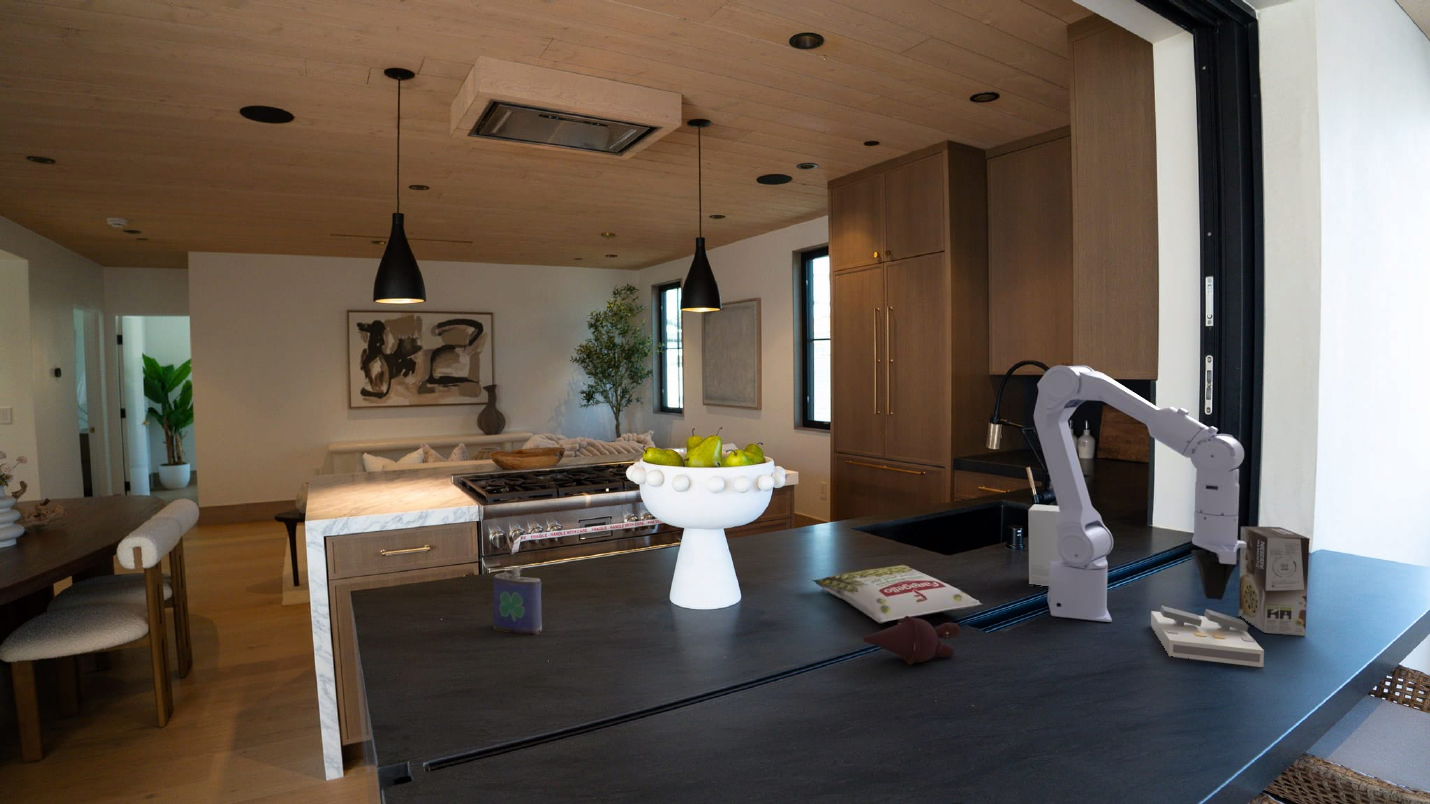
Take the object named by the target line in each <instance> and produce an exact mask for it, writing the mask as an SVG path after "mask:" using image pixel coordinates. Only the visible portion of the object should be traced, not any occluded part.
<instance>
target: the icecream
mask: <svg viewBox="0 0 1430 804" xmlns="http://www.w3.org/2000/svg"><path fill="white" fill-rule="evenodd" d="M961 632H962V629H961V627H960V626H959V624H958V623H955V622H944V623H942V624H941V625H938V626H935V627H934V626H933V625H932V624H931V623H930V622H928V621H926V620H925V619H924V618H923V619H922V618H917V617H909V616H905V617H904V618H903V619H898V621H897V624H896V625H893V626H891V627H887V628H886V629H883V630H880V631H876V632H874V633H870V634H869V635H865V636H864V637H863V639H862V640H863V642H864V643H866V644H870V645H873V646H874V647H878V648H880V649H883V650H885V651H887V652H890V653H893V654H895V655H897V656H900V657H901V660H903V661H904V662H906V663H907V664H908V665H909V666H912V665H914V663H923V662H928V660H931V659H933V657H934V656H936V657H939V658H941V659H942V658H943V659H945V658H947V659H948V658H951V657H954V655H955V654H956V651H955V649H954V647H953V646H952V645H951V644H947V643H945V642H944V643H943V642H942V641H940V640H939V639H944V640H948V639H953V638H955V637H957V636H959V635H960V633H961Z"/></svg>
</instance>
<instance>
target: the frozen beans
mask: <svg viewBox="0 0 1430 804" xmlns="http://www.w3.org/2000/svg"><path fill="white" fill-rule="evenodd" d="M811 581H812V582H814V583H815V584H816V585H818V586H819V587H821V588H822V589H824V590H825V591H827V592H828V593H830V594H831V595H834V596H835V597H837V598H839V599H842V600H844V601H846V602H847V603H849V604H850V606H852V607H853V608H856V609H857V610H859V611H860V612H862V613H863V614H864V615H866V616H868V617H870V618H871V619H873V620H874V621H875V622H877V623H879V624H881V625H882V624H884V623H887V622H892V621H895V620H900V619H903V618H904V617H905V616H909V617H910V618H912V617H913V618H916V617H922V616H926V615H932V614H937V613H942V612H947V611H953V610H964V609H965V610H966V609H971V608H975V607H977V606H979V605H982V603H981V602H980V600H978V599H976V598H973V597H972V596H970V595H969V593H966V592H965V591H962V590H961V589H959V588H957V587H954V586H952V585H950V584H949V583H945V582H943V581H941V580H939V579H937V578H934V577H932V576H931V575H928V574H926V573H923V572H921V571H919V570H917V569H914V568H912V567H910V566H907V565H905V564H900V565H893V566H886V567H879V568H873V569H872V568H871V569H865V570H860V571H854V572H848V573H841V574H833V575H831V576H826V577H824V578H819V579H813V580H811Z"/></svg>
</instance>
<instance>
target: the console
mask: <svg viewBox="0 0 1430 804" xmlns="http://www.w3.org/2000/svg"><path fill="white" fill-rule="evenodd" d="M1150 612H1151V613H1150V618H1151V619H1150V627H1151V628H1152V630H1153V632H1154V631H1155V632H1154V634H1155V635H1156V636H1157V638H1158V640H1159V642H1160V641H1161V642H1160V643H1161V645H1162V646H1164V647H1163V649H1164V648H1165V649H1164V650H1165V652H1166V651H1167V652H1166V654H1167V653H1168V654H1167V655H1168V657H1171V656H1173V657H1172V658H1180V659H1181V658H1182V659H1188V658H1189V660H1196V661H1198V660H1199V661H1207V662H1214V663H1215V662H1216V663H1224V664H1233V665H1241V666H1242V665H1243V666H1249V667H1258V668H1264V660H1265V659H1264V658H1265V656H1264V655H1265V650H1264V649H1263V648H1262V647H1261V645H1260V644H1259V643H1257V641H1256V640H1255V639H1254V638H1253V637H1252V636H1251V635H1250V634H1249V632H1248V631H1247V632H1244V631H1241V630H1238V629H1235V628H1232V627H1230V630H1229V631H1228V630H1225V629H1222V628H1221V627H1220V626H1219V625H1218V623H1216V622H1212V621H1209V620H1208V619H1207V618H1206V616H1205V615H1204V616H1203V615H1198V616H1199V618H1200V619H1201V620H1202V622H1201V626H1196V625H1193V624H1189V623H1184V626H1181V625H1178V624H1176V623H1175V621H1174V619H1170V618H1166V617H1163V616H1162V614H1161V613H1160V611H1154V610H1151V611H1150Z"/></svg>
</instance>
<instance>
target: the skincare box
mask: <svg viewBox="0 0 1430 804" xmlns="http://www.w3.org/2000/svg"><path fill="white" fill-rule="evenodd" d="M1027 511H1028V513H1027V515H1028V585H1029V584H1036V585H1041V586H1040V587H1042V586H1049V566H1050V562H1051V561H1055V562H1059V561H1062V558H1061V557H1060V555H1059V553H1058V550H1057V540H1058V531H1057V527H1056V525H1057V521H1058V518H1059V515H1060V510H1059V507H1058V505H1050V504H1049V505H1047V504H1038V503H1037V504H1036V503H1035V504H1034V503H1033V505H1032V506H1031V507H1030V508H1029V509H1028V510H1027Z"/></svg>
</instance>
